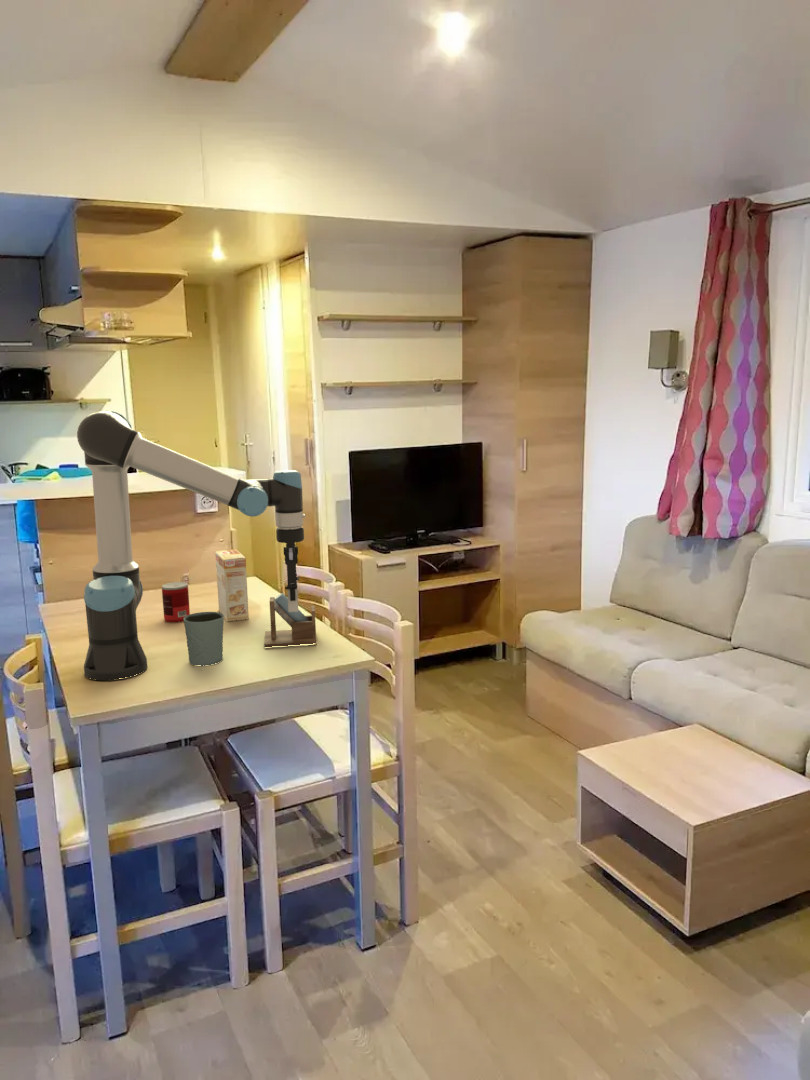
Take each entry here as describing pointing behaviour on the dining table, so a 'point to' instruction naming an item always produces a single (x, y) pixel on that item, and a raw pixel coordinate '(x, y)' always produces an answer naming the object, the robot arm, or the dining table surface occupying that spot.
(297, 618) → the peg
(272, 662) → the dining table surface
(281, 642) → the socket cradle
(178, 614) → the canned food
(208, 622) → the grey-green cup
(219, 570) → the coffeecake box
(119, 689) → the dining table surface
